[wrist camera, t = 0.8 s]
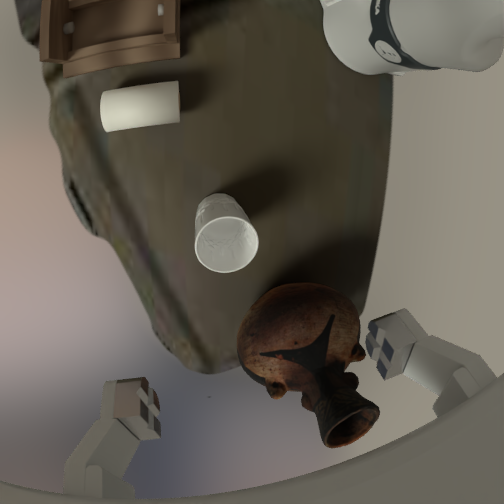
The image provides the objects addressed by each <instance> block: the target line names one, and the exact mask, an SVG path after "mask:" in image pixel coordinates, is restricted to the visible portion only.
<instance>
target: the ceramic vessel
mask: <svg viewBox="0 0 504 504" xmlns="http://www.w3.org/2000/svg"><path fill="white" fill-rule="evenodd" d="M359 339H360V320H359V315H358V312H357V309H356V307H355V305H354V304H353V303H352V301H351V300H350V299H349V298H347V297H346V296H345V295H343V294H342V293H340V292H338V291H337V290H335V289H333V288H331V287H328V286H326V285H322V284H316V283H291V284H285V285H282V286H279V287H276V288H273V289H271V290H270V291H268V292H267V293H265V294H264V295H263V296H261V297H260V298H259V299H258V300H257V301H256V302H255V303H254V304H253V305H252V306H251V308H250V309H249V310H248V312H247V313H246V315H245V317H244V319H243V320H242V322H241V325H240V327H239V330H238V334H237V352H238V358H239V361H240V364H241V366H242V368H243V369H244V371H245V372H246V373H247V374H248V375H249V376H250V377H251V378H252V379H253V380H255V381H256V382H258V383H260V384H262V385H263V386H266V388H267V391H268V393H269V395H270V396H271V398H273V399H280V398H281V397H283V395H284V394H285V393H286V392H287V391H297V392H298V391H299V392H302V395H303V396H302V399H301V403H302V406H303V407H304V408H306V409H307V410H309V411H312V412H314V413H315V414H316V417H317V421H318V425H319V430H320V435H321V438H322V441H323V443H324V445H325V446H327V447H329V448H338V447H342V446H346V445H348V444H351V443H353V442H354V441H356V440H358V439H359V438H361V437H362V436H364V435H365V434H366V433H367V432H368V431H369V430H370V428H372V426H373V425H374V423H375V422H376V421H377V419H378V417H379V415H380V411H379V407H378V406H377V405H375V404H374V403H373V402H371V401H369V400H367V399H365V398H364V397H362V396H361V395H360V394H359V393H358V392H357V391H356V389H357V387H358V384H359V381H358V377H357V376H356V375H355V374H354V373H352V372H345V373H344V371H345V369H346V368H347V367H348V365H349V364H350V363H351V362H357V361H361V360H363V359H364V358H365V356H366V354H365V350H364V349H363V348H362V346H361V345H360V344H359Z"/></svg>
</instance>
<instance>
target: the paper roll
mask: <svg viewBox="0 0 504 504" xmlns="http://www.w3.org/2000/svg"><path fill="white" fill-rule="evenodd" d="M100 111H101V120H102V124H103V127H104V129H105V131H106V132H110V131H116V130H122V129H129V128H136V127H143V126H150V125H159V124H167V123H177V122H180V92H179V85H178V81H171V82H162V83H154V84H146V85H139V86H132V87H126V88H120V89H114V90H109V91H104V92H103V94H102V96H101V104H100Z"/></svg>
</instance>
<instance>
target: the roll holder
mask: <svg viewBox="0 0 504 504" xmlns="http://www.w3.org/2000/svg"><path fill="white" fill-rule="evenodd" d="M170 59H180V0H42V7H41V21H40V61H41V62H52V63H61V64H63V78H70V77H73V76H77V75H81V74H86V73H90V72H94V71H99V70H104V69H109V68H114V67H119V66H125V65H131V64H138V63H145V62H152V61H160V60H170Z"/></svg>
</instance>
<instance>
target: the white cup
mask: <svg viewBox="0 0 504 504" xmlns="http://www.w3.org/2000/svg"><path fill="white" fill-rule="evenodd" d="M258 244H259V241H258V235H257V233H256V231H255V229H254V227H253V225H252V224H251V222H250V220H249V218H248V217H247V215H246V214H245V212H244V211H243V209H242V208H241V206H240V205H239V204H238V203H237V201H236V200H235V199H234V198H233V197H231V196H229V195H227V194H222V193H215V194H212V195H210V196H208V197H206V198H204V200H203V201H202V202H201V203H200V204H199V205H198V209H197V213H196V221H195V252H196V255H197V257H198V259H199V261H200V262H201V263H202V264H203V265H204V266H205V267H207V268H208V269H210V270H213V271H216V272H222V273H226V272H233V271H236V270H239V269H241V268H243V267H245V266H246V265H247V264H248V263H250V261H251V260H252V259H253V258H254V256H255V254H256V252H257V249H258Z"/></svg>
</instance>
